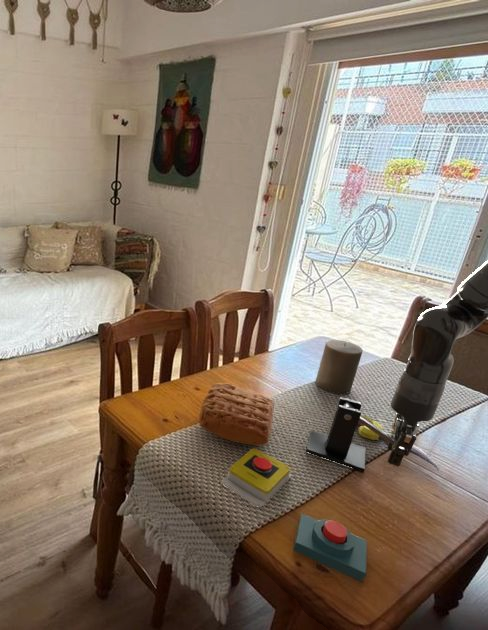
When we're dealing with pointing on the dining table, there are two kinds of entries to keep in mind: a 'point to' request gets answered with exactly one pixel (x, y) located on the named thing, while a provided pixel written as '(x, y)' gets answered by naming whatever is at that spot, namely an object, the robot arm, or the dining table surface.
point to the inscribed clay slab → (237, 414)
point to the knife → (372, 435)
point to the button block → (331, 548)
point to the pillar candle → (338, 366)
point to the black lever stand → (340, 438)
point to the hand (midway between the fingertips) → (393, 456)
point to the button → (334, 532)
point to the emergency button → (257, 477)
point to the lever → (372, 426)
